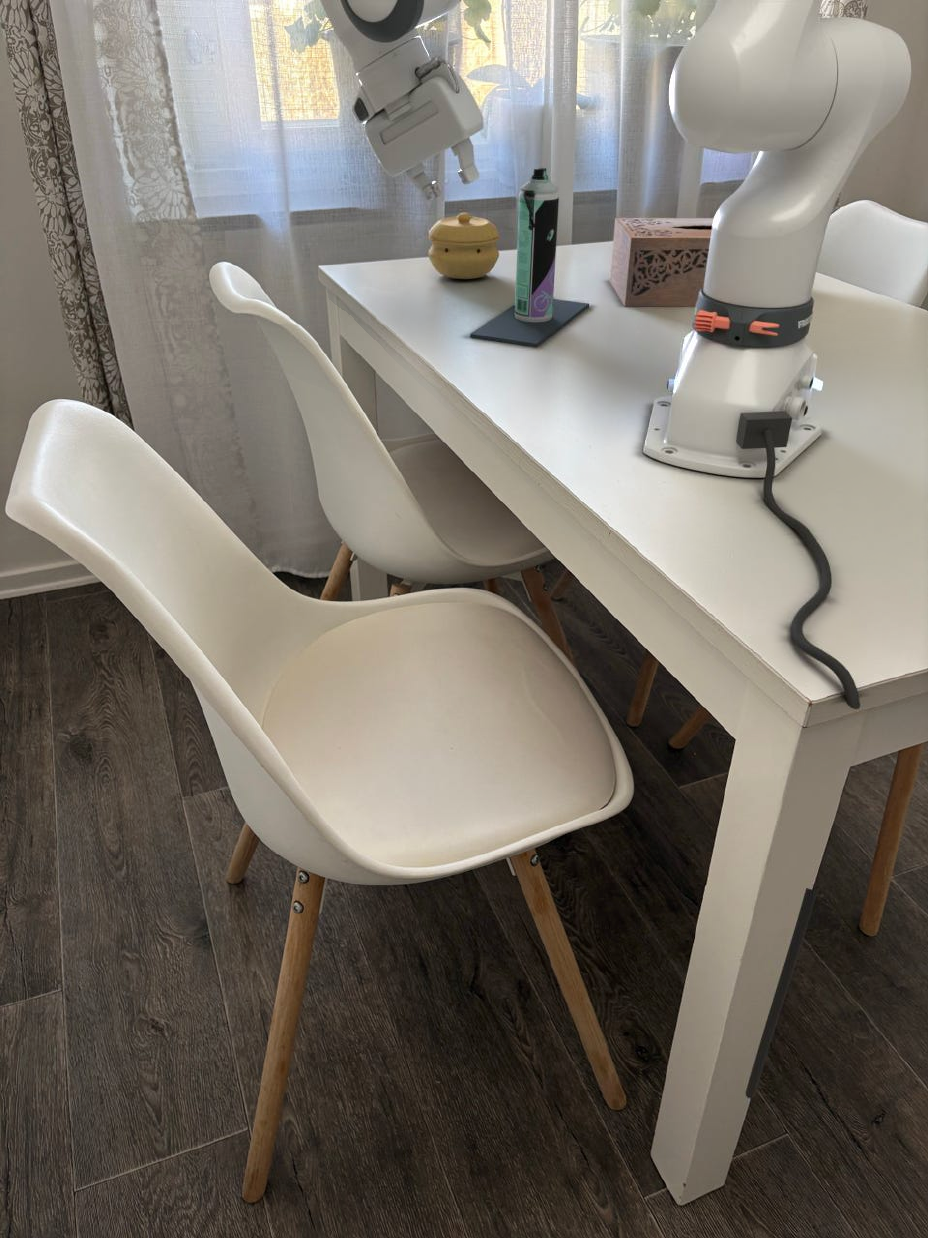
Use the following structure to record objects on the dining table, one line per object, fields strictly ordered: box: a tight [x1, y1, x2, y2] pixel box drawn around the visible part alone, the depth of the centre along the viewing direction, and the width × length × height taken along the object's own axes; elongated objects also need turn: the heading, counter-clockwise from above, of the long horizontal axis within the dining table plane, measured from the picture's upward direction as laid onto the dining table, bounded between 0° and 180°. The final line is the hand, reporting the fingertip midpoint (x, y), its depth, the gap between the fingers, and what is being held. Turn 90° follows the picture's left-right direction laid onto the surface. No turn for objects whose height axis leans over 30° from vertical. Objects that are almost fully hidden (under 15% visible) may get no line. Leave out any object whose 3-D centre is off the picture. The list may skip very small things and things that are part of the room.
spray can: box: [514, 167, 560, 322], centre depth 137 cm, size 6×6×20 cm
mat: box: [469, 298, 590, 348], centre depth 142 cm, size 22×10×1 cm, turn 155°
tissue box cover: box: [609, 217, 714, 307], centre depth 153 cm, size 26×14×10 cm, turn 92°
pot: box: [428, 212, 500, 280], centre depth 161 cm, size 12×12×10 cm
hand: (452, 190), depth 124 cm, fingers open, 8 cm apart
